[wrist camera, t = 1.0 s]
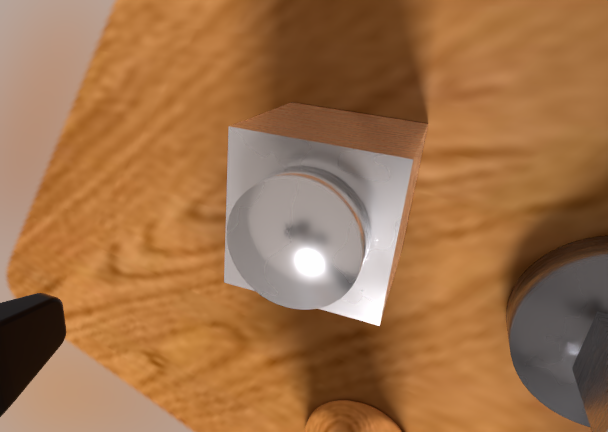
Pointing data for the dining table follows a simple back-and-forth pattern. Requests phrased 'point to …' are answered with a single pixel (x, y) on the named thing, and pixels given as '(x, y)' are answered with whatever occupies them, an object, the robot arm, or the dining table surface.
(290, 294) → the cube with round boss
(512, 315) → the ratchet
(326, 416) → the beer glass
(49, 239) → the dining table surface
